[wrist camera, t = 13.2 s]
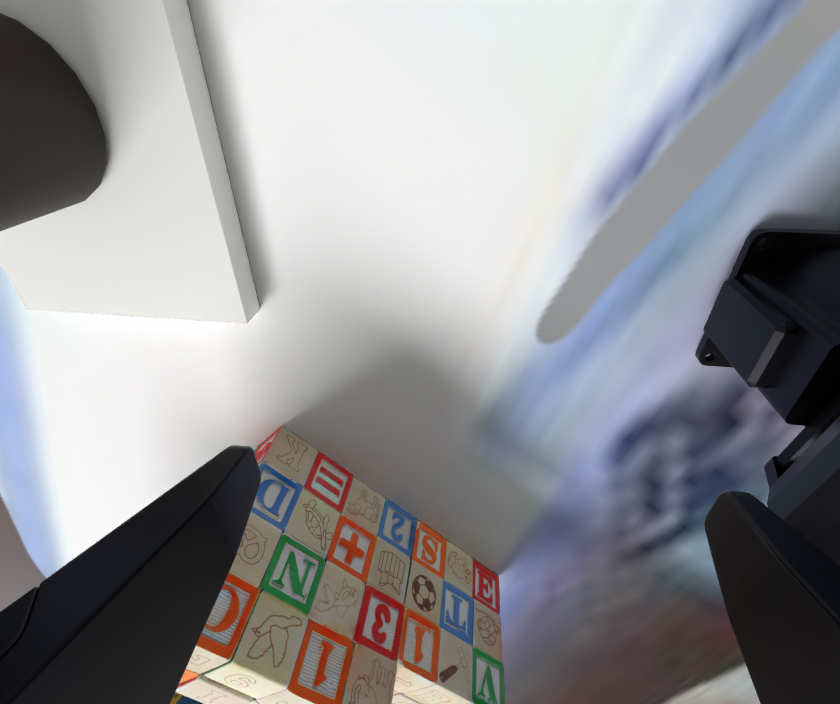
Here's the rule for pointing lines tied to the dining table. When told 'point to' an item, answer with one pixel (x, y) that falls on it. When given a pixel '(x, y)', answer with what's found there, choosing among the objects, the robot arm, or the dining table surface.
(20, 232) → the white flat block
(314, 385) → the dining table surface
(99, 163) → the vinegar
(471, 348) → the dining table surface
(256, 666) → the stack of blocks
